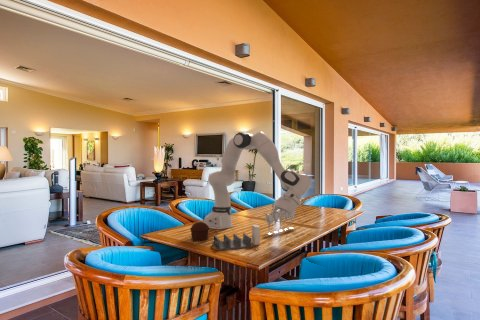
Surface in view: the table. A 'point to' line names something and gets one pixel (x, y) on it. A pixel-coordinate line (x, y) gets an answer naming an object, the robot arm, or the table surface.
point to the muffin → (199, 231)
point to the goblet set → (275, 217)
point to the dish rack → (232, 242)
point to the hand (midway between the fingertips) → (276, 215)
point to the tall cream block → (256, 234)
